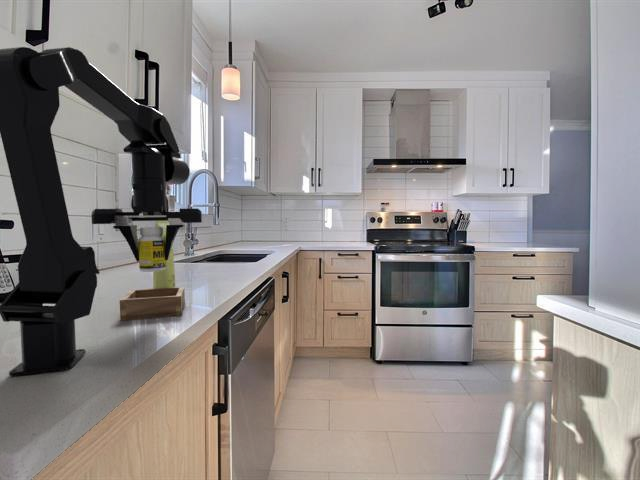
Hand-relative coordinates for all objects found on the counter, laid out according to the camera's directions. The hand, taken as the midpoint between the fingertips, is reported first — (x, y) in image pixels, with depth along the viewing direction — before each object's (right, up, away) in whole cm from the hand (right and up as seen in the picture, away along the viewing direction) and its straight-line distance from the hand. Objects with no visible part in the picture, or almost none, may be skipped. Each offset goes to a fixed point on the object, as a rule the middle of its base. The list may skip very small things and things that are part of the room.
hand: (152, 260), depth 69 cm
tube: (-5, -11, +16) cm, 19 cm away
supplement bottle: (0, -2, 0) cm, 2 cm away
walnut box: (-2, -11, +6) cm, 13 cm away
